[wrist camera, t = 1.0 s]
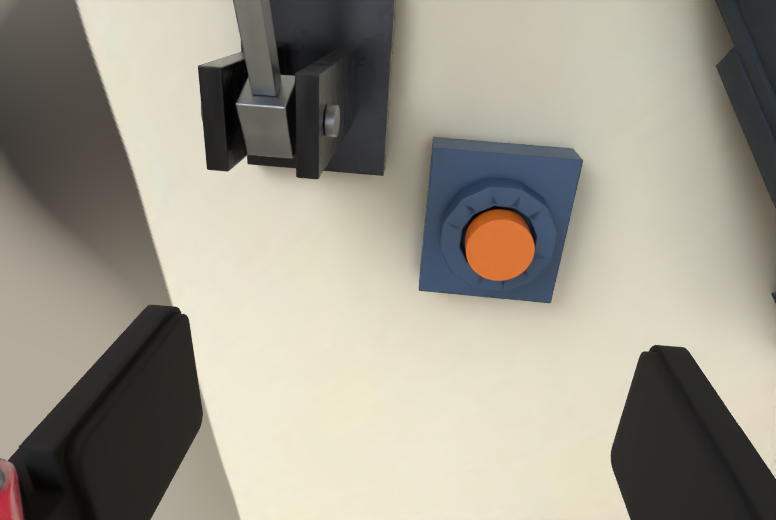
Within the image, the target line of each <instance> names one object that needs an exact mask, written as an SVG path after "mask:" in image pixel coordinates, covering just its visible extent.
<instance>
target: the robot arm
mask: <svg viewBox="0 0 776 520" xmlns="http://www.w3.org/2000/svg"><path fill="white" fill-rule="evenodd" d="M202 416H203V412H202V404H201V398H200V391H199V384H198V377H197V371H196V364H195V357H194V351H193V344H192V337H191V331H190V324H189V319H188V317H187V315H185V314H181V311H180V309H179V308H177V307H173V306H160V305H148V306H147V307H146V308H145V309H144V310H143V311H142V312H141V313H140V314H139V316H138V317H137V318H136V319H135V320H134V321H133V322H132V323H131V324H130V326H128V328H127V329H126V330H125V331H124V332H123V333H122V334H121V335H120V336H119V337H118V339H117V340H116V341H115V342H114V343H113V344H112V345H111V346H110V347H109V349H108V350H107V351H106V352H105V353H104V354H103V355H102V356H101V357H100V358H99V359H98V361H97V362H96V363H95V364H94V365H93V366H92V367H91V368H90V369H89V370H88V371H87V373H86V374H85V375H84V376H83V377H82V378H81V379H80V380H79V381H78V383H76V385H75V386H74V387H73V388H72V389H71V390H70V391H69V392H68V393H67V394H66V396H65V397H64V398H63V399H62V400H61V401H60V402H59V403H58V404H57V405H56V407H55V408H54V409H53V410H52V411H51V412H50V413H49V414H48V415H47V416H46V418H45V419H44V420H43V421H42V422H41V423H40V424H39V425H38V426H37V427H36V428H35V430H34V431H33V432H32V433H31V434H30V435H29V436H28V437H27V438H26V439H25V441H24V442H23V443H22V444H21V445H20V446H19V449H18V450H17V451H16V452H15V453H14V454H13V455H12V456H11V457H10V459H9V460H8V461H7V460H5V459H0V520H150V519H151V518H152V516H153V514H154V512H155V510H156V508H157V506H158V505H159V503H160V501H161V499H162V497H163V495H164V493H165V491H166V490H167V488H168V486H169V484H170V482H171V481H172V479H173V477H174V475H175V473H176V471H177V470H178V468H179V466H180V464H181V462H182V460H183V458H184V457H185V454H186V453H187V451H188V449H189V447H190V446H191V444H192V442H193V440H194V438H195V436H196V434H197V433H198V431H199V429H200V426H201V422H202ZM611 464H612V468H613V471H614V474H615V477H616V480H617V483H618V485H619V488H620V491H621V494H622V497H623V499H624V502H625V505H626V508H627V511H628V513H629V516H630V519H631V520H776V479H775V477H774V476H773V474H772V473H771V471H770V470H769V468H768V467H767V465H766V464H765V463H764V461H763V460H762V458H761V457H760V455H759V454H758V452H757V451H756V449H755V448H754V446H753V445H752V443H751V442H750V440H749V439H748V437H747V436H746V435H745V433H744V432H743V430H742V429H741V427H740V426H739V425H738V423H737V422H736V420H735V419H734V418H733V416H732V415H731V413H730V412H729V410H728V409H727V407H726V406H725V404H724V403H723V401H722V400H721V398H720V397H719V395H718V394H717V392H716V391H715V389H714V388H713V387H712V385H711V384H710V382H709V381H708V379H707V378H706V376H705V375H704V373H703V372H702V370H701V369H700V367H699V366H698V364H697V363H696V361H695V360H694V358H693V357H692V356H691V354H690V353H689V351H688V350H687V349H686V348H683V347H673V346H661V345H654V346H652V347H651V348H650V350H649V352H645V351H644V352H642V353H641V355H640V357H639V360H638V363H637V367H636V370H635V373H634V377H633V380H632V383H631V387H630V390H629V393H628V396H627V400H626V403H625V406H624V410H623V413H622V416H621V419H620V423H619V426H618V429H617V433H616V436H615V439H614V442H613V446H612V450H611Z"/></svg>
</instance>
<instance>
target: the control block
mask: <svg viewBox="0 0 776 520" xmlns="http://www.w3.org/2000/svg"><path fill="white" fill-rule="evenodd" d="M582 163H583V160H582V159H581V158H580V156H579V155H578V154H577V153H576V152H575V150H574V149H570V148H558V147H546V146H534V145H522V144H510V143H497V142H485V141H473V140H461V139H449V138H437V137H434V138H433V146H432V156H431V166H430V176H429V186H428V196H427V206H426V216H425V226H424V236H423V246H422V256H421V266H420V278H419V291H428V292H439V293H449V294H460V295H470V296H481V297H491V298H501V299H512V300H522V301H533V302H543V303H551V299H552V295H553V290H554V286H555V282H556V277H557V273H558V268H559V264H560V260H561V255H562V251H563V246H564V242H565V238H566V233H567V229H568V225H569V220H570V216H571V211H572V207H573V203H574V198H575V194H576V189H577V185H578V181H579V176H580V172H581V167H582ZM494 209H504V210H509V211H512V212H514V213H516V214H518V215H519V216H521V217H522V218H523V219H524V220H525V222H526V223H527V225H528V227H529V230H530V232H531V235H532V237H533V240H534V245H535V252H534V257H533V259H532V262H531V263H530V265H529V266H528V268H527V269H526V270H525V271H524V272H522V273H521V274H520V275H518V276H516V277H514V278H512V279H508V280H503V281H495V280H489V279H486V278H484V277H482V276H480V275H478V274H477V273H476V272H475V271H474V270H473V269H472V268H471V266H470V265H469V263H468V260H467V256H466V248H465V235H466V231H467V229H468V227H469V225H470V223H471V222H472V221H473V220H474V219H475V218H476V217H477V216H479V215H480V214H482V213H484V212H487V211H489V210H494Z"/></svg>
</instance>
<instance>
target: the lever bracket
mask: <svg viewBox="0 0 776 520" xmlns="http://www.w3.org/2000/svg"><path fill="white" fill-rule="evenodd" d="M269 1H270V8H271V15H272V21H273V28H274V35H275V41H276V48H277V55H278V61H279V68H280V75H290V76H295V118H296V152H295V155H294V158H281V157H270V156H258V155H248V154H247V152H246V148H245V143H244V139H243V135H242V131H241V126H240V122H239V118H238V113H237V109H236V105H235V104H236V101H237V99H238V97H239V95H240V93H241V90H242V88H243V86H244V84H245V82H246V80H247V77H248V72H247V67H246V62H245V57H244V52H243V47H242V42H241V51H242V52H240V53H237V54H234V55H231V56H227V57H224V58H221V59H218V60H215V61H212V62H209V63H205V64H202V65H199V66H198V72H199V83H200V95H201V116H202V121H203V128H204V140H205V151H206V162H207V169H208V170H217V171H229V170H231V169H232V168H233V167H234V166H235V165H236V164H238V163H239V162H240V161H241V160H242V159H243V158H245V157H246V156H247V162H248V164H252V165H263V166H275V167H287V168H296V177H298V178H308V179H319V177H320V176H321V174H322V172H323V171H333V172H345V173H356V174H368V175H379V176H383V175H384V172H385V163H386V147H387V131H388V115H389V99H390V82H391V66H392V50H393V34H394V18H395V2H396V0H269Z"/></svg>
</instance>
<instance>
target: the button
mask: <svg viewBox="0 0 776 520" xmlns="http://www.w3.org/2000/svg"><path fill="white" fill-rule="evenodd" d="M465 248H466V256H467V260H468V263H469V265H470V266H471V268H472V269H473V270H474V271H475V272H476V273H477V274H478V275H480V276H482V277H484V278H486V279H489V280H495V281H503V280H508V279H512V278H514V277H516V276H518V275H520V274H521V273H522V272H524V271H525V270H526V269H527V268H528V266H529V265H530V263H531V262H532V259H533V257H534V252H535V245H534V240H533V237H532V235H531V232H530V230H529V227H528V225H527V223H526V222H525V220H524V219H523V218H522V217H521V216H519V215H518V214H516V213H514V212H512V211H509V210H504V209H494V210H489V211H487V212H484V213H482V214H480V215H479V216H477V217H476V218H475V219H474V220H473V221H472V222H471V223H470V225H469V227H468V229H467V231H466V235H465Z"/></svg>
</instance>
